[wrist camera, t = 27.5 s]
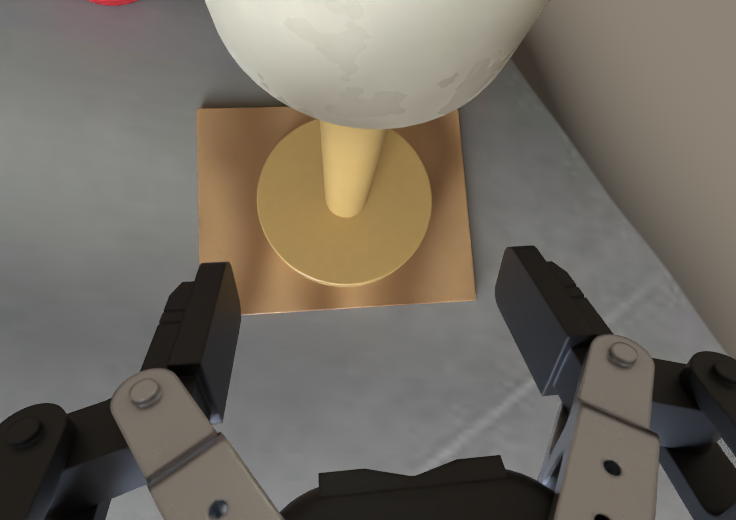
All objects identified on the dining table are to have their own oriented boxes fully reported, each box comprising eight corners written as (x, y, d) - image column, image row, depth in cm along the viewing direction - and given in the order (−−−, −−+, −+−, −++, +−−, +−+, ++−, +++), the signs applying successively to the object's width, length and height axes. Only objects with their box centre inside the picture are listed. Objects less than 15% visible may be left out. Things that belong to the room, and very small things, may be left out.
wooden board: (202, 317, 27) (199, 317, 27) (198, 111, 29) (196, 108, 29) (474, 300, 29) (476, 300, 28) (455, 106, 31) (457, 102, 30)
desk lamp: (264, 292, 27) (-124, 164, 4) (259, 129, 29) (-57, -661, 5) (432, 282, 28) (886, 134, 5) (419, 125, 30) (731, -560, 6)
